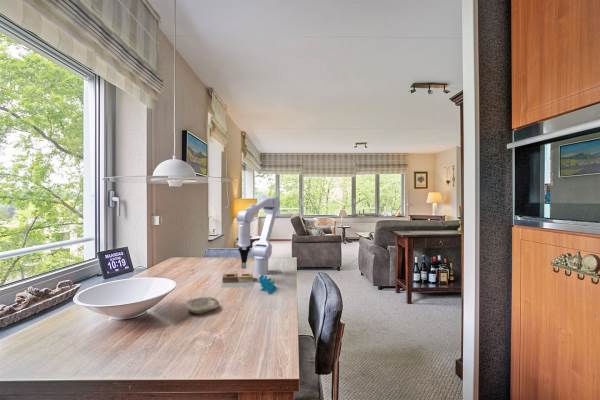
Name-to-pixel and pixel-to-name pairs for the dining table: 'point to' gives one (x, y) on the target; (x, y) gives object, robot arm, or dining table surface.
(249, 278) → the block birch
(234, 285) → the board
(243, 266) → the pin
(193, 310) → the fossil
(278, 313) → the dining table surface
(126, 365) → the dining table surface
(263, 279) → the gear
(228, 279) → the block walnut
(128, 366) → the dining table surface
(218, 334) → the dining table surface
